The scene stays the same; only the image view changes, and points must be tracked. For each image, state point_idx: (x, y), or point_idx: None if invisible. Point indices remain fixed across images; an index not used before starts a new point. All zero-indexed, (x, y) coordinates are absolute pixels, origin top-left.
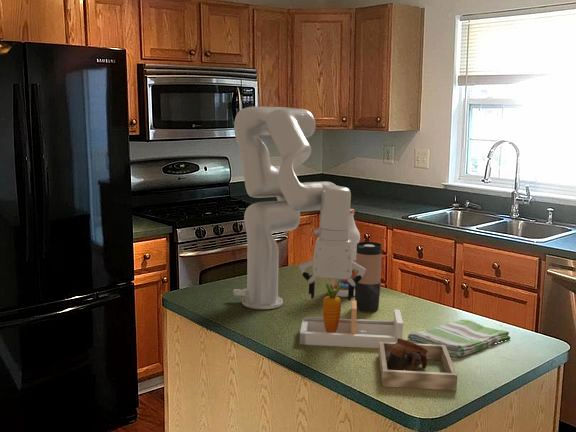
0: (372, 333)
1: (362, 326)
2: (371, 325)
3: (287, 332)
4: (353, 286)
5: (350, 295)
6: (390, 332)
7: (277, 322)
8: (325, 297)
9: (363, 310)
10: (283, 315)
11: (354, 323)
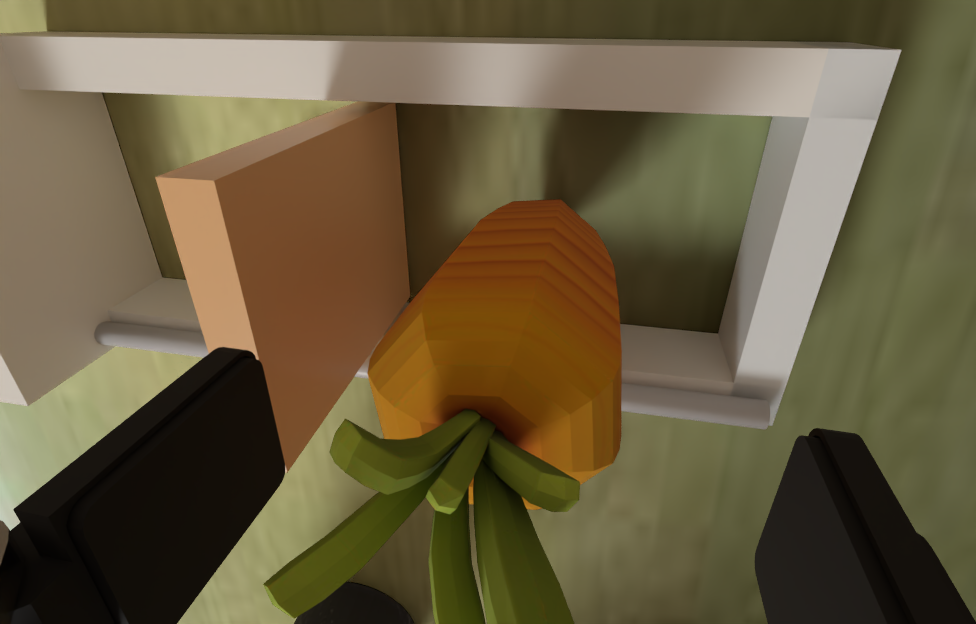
0: None
1: None
2: None
3: (894, 322)
4: (24, 531)
5: (173, 389)
6: (162, 289)
7: (922, 497)
8: (586, 449)
9: (369, 594)
10: None
11: (287, 133)
